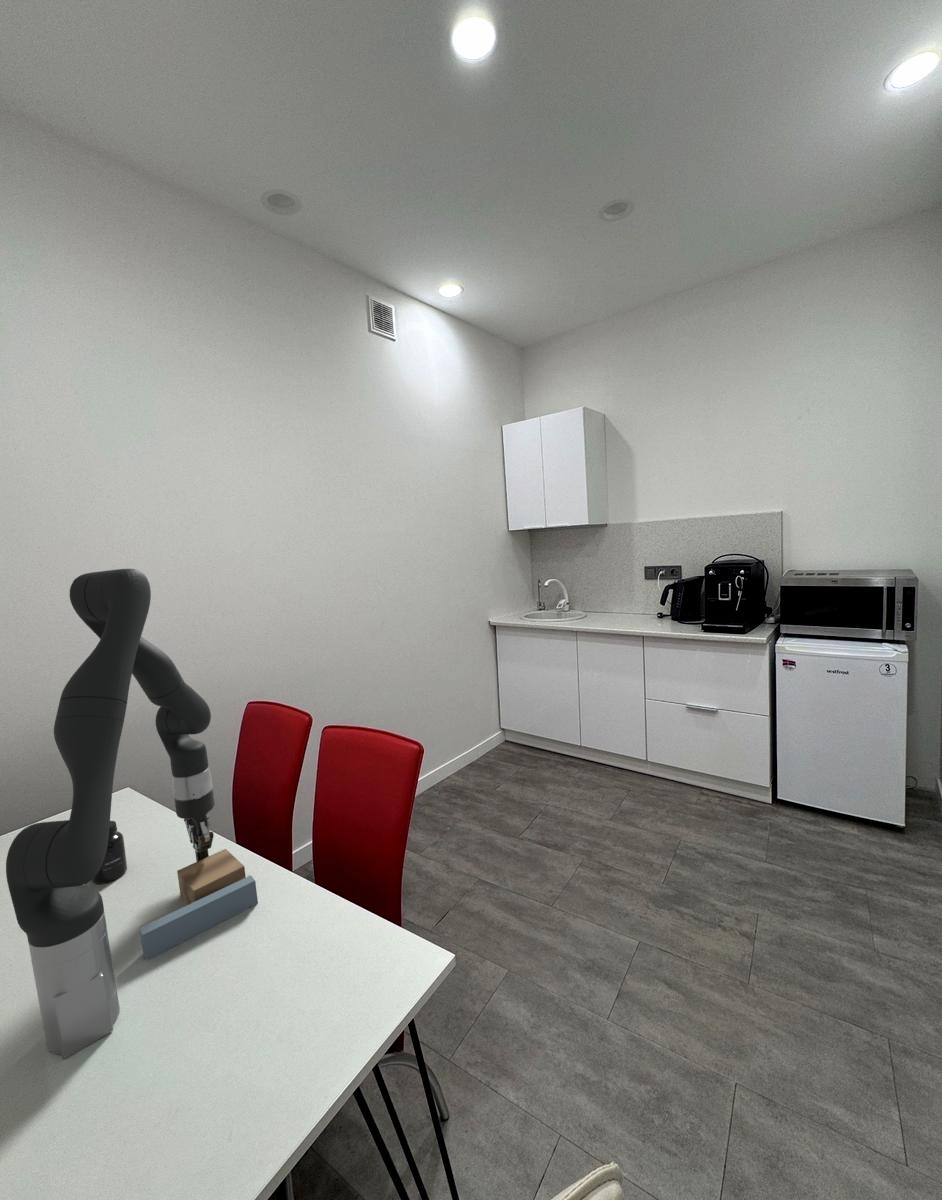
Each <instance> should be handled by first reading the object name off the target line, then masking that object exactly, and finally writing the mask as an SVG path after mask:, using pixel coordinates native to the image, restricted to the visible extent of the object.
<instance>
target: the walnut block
mask: <svg viewBox="0 0 942 1200" xmlns="http://www.w3.org/2000/svg"><path fill="white" fill-rule="evenodd" d="M176 874H177V880H178V886H179V888H178V889H179V895H180V898H182V900H183V902H184V903H185V904H186V906H187V905H189V904H191V903H193V902H195V901H197V900H200V899H202V898H204V897H206V896H208V895H210V894H212V893H214V892H216V891H219V890H221V889H223V888H225V887H227V886H229V885H231V884H233V883H235V882H238V881H240V880H242V879H244V878H246V877H247V876H246V869H245V865H244V864H243V863H242V862H241V861H239V859H238V858H236V857H235V856H234V855H233V854H232V853H231V852H230V851H229V850H228V849H226V848H224V849H222V850H220V851H218V852H217V851H216V853H213V854H211V855H209V857H206V858H204V859H202V860H200V861H198V862H197V861H195V862H193V863H191V864H189V865H187V866H184V867H182V868H181V869H178V870H177V871H176Z"/></svg>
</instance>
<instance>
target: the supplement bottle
mask: <svg viewBox="0 0 942 1200" xmlns="http://www.w3.org/2000/svg"><path fill="white" fill-rule="evenodd" d="M127 863H128V862H127V855H126V848H125V840H124V834H123V833H122V832H120V831H118V826H117V822H116V821H115V820H110V827H109V837H108V844H107V850H106V854H105V858H104V861H103V863H102V866H101V868H100V870H99V872H98V873H97V874H96V876H95V877H94V878H93V879H92V880H91V882H92V883H94V884H98V885H100V884H107V883H111V882H113V881H115V880H117V879H119V878H121V877H122V876H123V875H124V874H125V873H126V872H127V870H128V864H127Z"/></svg>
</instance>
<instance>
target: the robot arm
mask: <svg viewBox="0 0 942 1200" xmlns="http://www.w3.org/2000/svg"><path fill="white" fill-rule="evenodd" d="M151 596H152V591H151V585H150V582H149V580H148V577H147V576H146V575H145V573H143V572H142V571H141V570H139V569H135V568H119V569H118V568H117V569H109V570H101V571H94V572H93V571H92V572H88V573H83V574H81V575H79V576H77V577H75V579H73V581H72V583H71V585H70V588H69V601H70V603H71V606H72V608H73V610H74V612H75V613H76V615H78V617H79V618H80V619H81V621H82V622H83V623H84V624H85V625H86V626H87V627H88V628H89V629H90V630H91V631H92V632H93V633H94V634H95V635H96V636H97V637H98V638H99V642H98V643H97V644H96V646H95V648H94V649H93V651H91V653H90V654H89V655H88V657H86V658H85V660H84V661H83V662H82V663H81V665H80V666H79V667H78V668H77V669H76V671H75V672H74V673H73V674H72V676H71V677H70V678H69V680H68V681H67V683H66V684H65V686H64V688H63V689H62V691H61V695H60V698H59V702H58V707H57V711H56V715H55V716H56V717H55V720H54V725H53V738H54V741H55V743H56V746H57V749H58V751H59V753H60V755H61V758H62V760H63V762H64V764H65V766H66V768H67V770H68V772H69V776H70V779H71V781H72V803H71V811H70V815H69V819H67V820H64V819H63V820H55V821H43V822H37V823H33V824H31V825H28V826H27V827H24V828H23V829H22V830H20V831H19V833H18V834H16V836H15V837H14V838H13V841H12V842H11V843H10V846H9V848H8V850H7V851H8V852H7V856H6V861H5V874H6V875H5V877H6V881H7V886H8V891H9V895H10V899H11V903H12V906H13V910H14V915H15V917H16V920H17V924H18V926H19V928H20V929H21V930H22V931H23V932H24V933H25V934H26V937H27V942H28V947H29V948H28V949H29V953H30V954H29V955H30V960H31V968H32V971H33V977H34V983H35V987H36V995H37V999H38V1000H37V1001H38V1005H39V1012H40V1015H41V1016H40V1017H41V1021H42V1028H43V1032H44V1033H43V1034H44V1038H45V1043H46V1044H45V1045H46V1047H47V1049H48V1051H49V1052H50V1053H52V1054H54V1055H55V1054H56V1055H57V1054H58V1055H61V1057H62V1059H63V1060H64V1059H66V1058H68V1057H70V1056H71V1055H74V1054H75V1053H76V1052H78V1051H81V1050H82V1049H84V1048H86V1047H87V1046H89V1045H91V1044H92V1043H94V1042H96V1041H98V1040H99V1039H100V1040H101V1038H103V1037H105V1036H107V1035H109V1034H110V1033H111V1032H113V1031H114V1027H113V1026H114V1024H115V1022H116V1020H117V1019H118V1017H119V1014H120V1003H119V994H118V989H117V984H116V983H117V982H116V979H115V971H114V966H113V959H112V952H111V945H110V939H109V934H108V927H107V920H106V914H105V913H106V912H105V907H104V906H105V905H104V900H103V897H102V894H101V893H100V892H99V891H98V890H96V889H95V888H92V887H88V886H85V885H86V884H88V883H89V882H92V879H93V878H94V877H95V876H96V874H97V873H98V872H99V870H100V868H101V866H102V863H103V861H104V858H105V854H106V850H107V844H108V837H109V827H110V821H111V812H112V811H111V810H112V802H113V801H112V798H113V787H114V779H115V770H116V764H117V759H118V754H119V747H120V741H121V737H122V732H123V727H124V724H125V718H126V712H127V706H128V700H129V690H130V687H131V686H130V685H131V681H132V676H133V677H134V678H135V680H136V681H137V683H138V685H139V687H140V688H141V690H142V691H143V692H144V694H145V696H147V698H148V700H149V701H150V702H151V704H153V705H154V706H155V705H156V707H157V706H158V707H159V709H158V710H157V712H156V715H155V727H156V732H157V733H158V736H159V738H160V740H161V743H162V744H163V747H164V748H165V751H166V752H167V754H168V757H169V758H170V759H169V761H170V768H171V769H170V770H171V775H172V776H171V777H172V784H171V785H172V793H173V800H174V806H175V807H174V808H175V814H176V816H177V817H178V818H179V819H183V822H184V824H185V827H186V831H187V834H188V837H189V842H190V843H191V844H192V848H193V849H194V852H195V860H196V861H195V862H198V861H200V860H202V859H204V858H206V857H209V856H210V855H209V850H210V849H211V848H212V845H213V840H214V832H213V831H210V826H211V821H210V819H211V818H210V817H209V816H207V814H208V813H209V812H211V810H213V809H214V807H215V805H216V803H215V795H214V787H213V780H212V779H213V778H212V774H211V771H210V768H209V767H210V766H209V758H208V753H207V752H208V751H207V747H206V744H205V743H204V742H203V741H200V740H196V739H194V738H192V737H190V735H199V734H200V733H203V732H204V731H205V730H207V729H208V727H209V726H210V724H211V720H212V714H211V709H210V706H209V705H208V703H207V702H206V700H205V699H204V698H203V697H202V696H201V695H200V694H199V693H197V692H196V691H195V690H194V688H193V687H191V686H190V685H188V684H187V682H185V680H184V678H183V677H182V675H181V674H180V672H179V670H178V668H177V666H176V664H175V663H174V662H173V660H172V659H171V658H170V657H169V655H167V653H165V652H164V651H163V650H162V649H161V648H158V646H156V645H155V644H153V643H152V642H150V641H149V640H147V639H146V638H144V637H143V636H142V634H143V632H144V631H143V630H144V627H145V624H146V621H147V618H148V614H149V611H150V606H151V599H152V597H151Z"/></svg>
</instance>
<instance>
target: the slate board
mask: <svg viewBox="0 0 942 1200" xmlns="http://www.w3.org/2000/svg"><path fill="white" fill-rule="evenodd" d="M257 904H259V902H258V892H257V883H256V879H255V878H254V877H253V876H252V875H248V876H246V878H244V879H242V880H240V881H238V882H235V883H233V884H231V885H229V886H227V887H225V888H223V889H221V890H219V891H216V892H214V893H212V894H210V895H208V896H206V897H204V898H202V899H200V900H197V901H195V902H193V903H191V904H189V905H187V904H186V905H185V906H182V907H181V908H179V909H177V910H174V911H172V912H170V913H168V914H165V915H164V916H162V917H160V918H157V919H156V920H153V921H151V922H150V923H147V924H144V925H143V926H140V927H139V934H140V940H141V946H142V947H141V949H142V954H143V956H144V958H145V961H148V960H150V959H153V958H154V957H156V956H158V955H160V954H161V953H164V952H165V951H168V950H169V949H172V948H173V947H176V946H177V945H179V944H181V943H183V942H186V941H187V940H189V939H191V938H193V937H195V936H197V935H198V934H201V933H203V932H205V931H206V930H208V929H210V928H212V927H215V926H216V925H218V924H220V923H222V922H225V921H226V920H228V919H230V918H232V917H234V916H235V915H238V914H240V913H242V912H244V911H245V910H248V909H250V908H252V907H253V906H255V905H257Z"/></svg>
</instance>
